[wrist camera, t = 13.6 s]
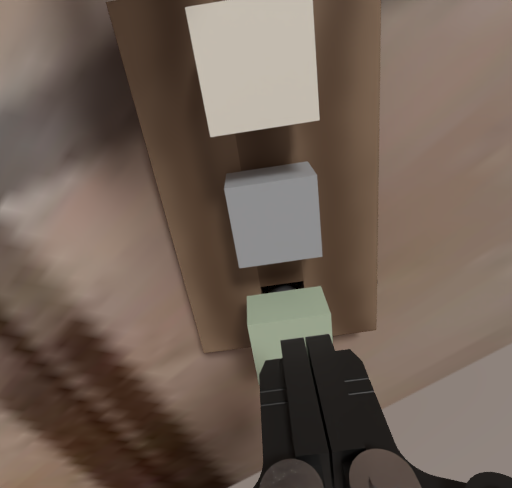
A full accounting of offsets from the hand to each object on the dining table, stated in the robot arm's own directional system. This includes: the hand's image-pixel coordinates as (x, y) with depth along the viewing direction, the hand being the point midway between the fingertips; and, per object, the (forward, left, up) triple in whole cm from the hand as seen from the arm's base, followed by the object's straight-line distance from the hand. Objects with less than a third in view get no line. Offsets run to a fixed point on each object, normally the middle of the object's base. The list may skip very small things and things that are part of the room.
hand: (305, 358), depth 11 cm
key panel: (0, 0, -17) cm, 17 cm away
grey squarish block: (0, 0, -16) cm, 16 cm away
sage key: (0, +8, -14) cm, 16 cm away
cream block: (0, -8, -14) cm, 16 cm away
